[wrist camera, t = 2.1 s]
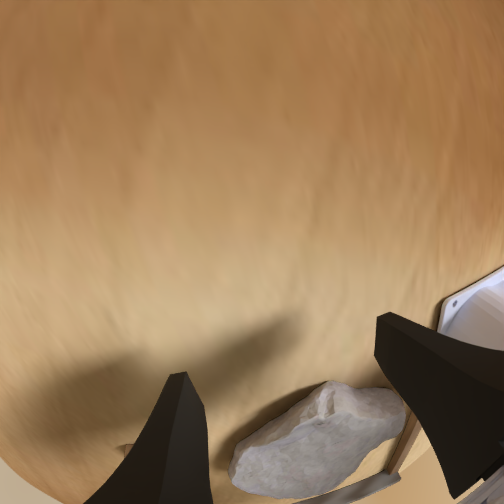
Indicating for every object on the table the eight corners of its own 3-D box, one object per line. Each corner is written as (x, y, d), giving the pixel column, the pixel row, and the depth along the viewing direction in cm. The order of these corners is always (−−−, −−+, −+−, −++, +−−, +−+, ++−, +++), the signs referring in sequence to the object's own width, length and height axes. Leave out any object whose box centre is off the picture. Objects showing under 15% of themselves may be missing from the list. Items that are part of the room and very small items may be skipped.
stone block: (217, 445, 19) (314, 469, 20) (211, 489, 14) (322, 507, 15) (294, 345, 17) (399, 385, 18) (306, 393, 12) (424, 423, 13)
